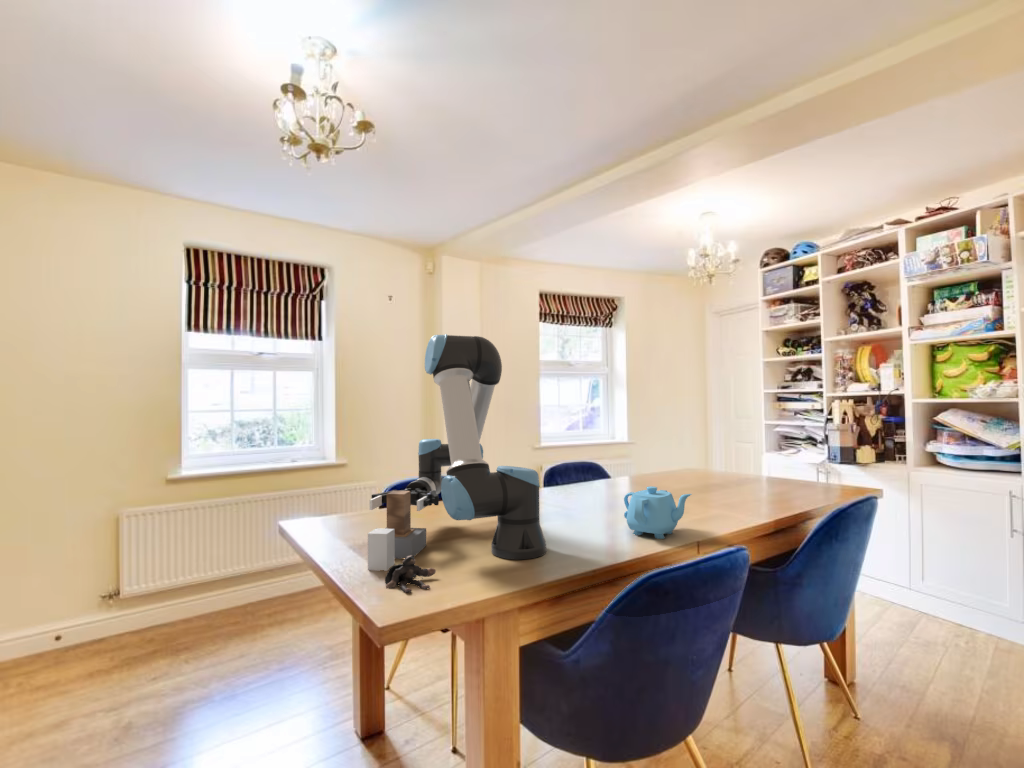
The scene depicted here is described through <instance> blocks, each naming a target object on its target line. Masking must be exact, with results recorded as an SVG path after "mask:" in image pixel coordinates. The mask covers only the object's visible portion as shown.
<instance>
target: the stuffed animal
mask: <svg viewBox="0 0 1024 768" xmlns="http://www.w3.org/2000/svg"><path fill="white" fill-rule="evenodd" d="M415 564H416V559H415V556H412V555H410V556H407V557H405V559H403V560H402V563H398V564H394V565H393V566H392V567H391V568H390V569H388V570H387V571H388V572H386V575H385V578H384V583H386V584H385V587H386V588H385V589H387V588H389V589H396V588H397V587H399V588H400V589H399V590H401V591H402V592H403V593H405V592H406V593H405V594H409V592H410V593H411V592H412V591H413V590H412V588H410V587H407V585H408V584H407V583H410V585H411V584H415V585H414V586H416V585H417V587H418V586H419V587H420V588H419V587H418V588H419V589H422V588H423V589H422V590H428V589H427V588H429V589H430V588H431V586H430V584H425V583H424V581H422V580H414V578H416V577H422V578H427V577H432V576H433V575H435V574H436V569H435V568H433V567H429V568H422V567H421V566H420V565H415ZM416 575H417V576H416ZM413 577H414V578H413ZM406 584H407V585H406ZM398 585H399V586H398ZM395 587H396V588H395Z"/></svg>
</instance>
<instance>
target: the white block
mask: <svg viewBox="0 0 1024 768" xmlns="http://www.w3.org/2000/svg"><path fill="white" fill-rule="evenodd" d="M395 559H396V558H395V529H385V528H384V527H383V528H381V527H379V528H377V527H376V528H374V529H373V530H371V531H369V532H367V570H368V571H380V570H384V572H386V571H389V568H390V567H391V566H392V567H393V566H395V565H396V564H395V562H396V561H395Z"/></svg>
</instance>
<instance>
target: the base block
mask: <svg viewBox="0 0 1024 768" xmlns="http://www.w3.org/2000/svg"><path fill="white" fill-rule="evenodd" d="M384 529H387V526H386V527H384ZM425 546H426V547H427V528H426V527H411V530H410V531H409V532H407V533H406V534H404V535H397V534H395V559H402V558H405V557H407V556H410V555H412V556H414V557H416V554H417V555H418V554H419V553H420V552H421V551H422V550H423V549H424V548H426V547H425Z"/></svg>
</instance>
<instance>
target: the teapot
mask: <svg viewBox="0 0 1024 768" xmlns="http://www.w3.org/2000/svg"><path fill="white" fill-rule="evenodd" d="M691 495H693V493H686V494H685V493H684V494H682V495H680V497H679V498H678V503H677V505H676V502H675V498H674V496H673V493H671V492H670V491H668V490H664V489H660V490H658V487H657V486H651V485H650V486H647V487H646V489H642V490H638V491H635V492H634V491H631V492H628V493H626V494H625V495H624V496H623V502H624V505H625V508H626V510H625V512H624V515H623V516H624V518H625V519H626V523H627V526H628V528H629V530H632V531H633V533H632V535H633V534H635V535H634V536H642V535H643V534H644V533H648V534H654V539H657V540H663V539H665V535H664V534H667V535H670V534H674V533H673V531H674V530H675V529H676V527H677V526H678V523H679V521H680V520H681V519H682V518H683V516H684V513H685V505H686V500H687V499H688V497H690V496H691ZM630 496H631V497H630ZM629 497H630V500H629Z"/></svg>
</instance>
